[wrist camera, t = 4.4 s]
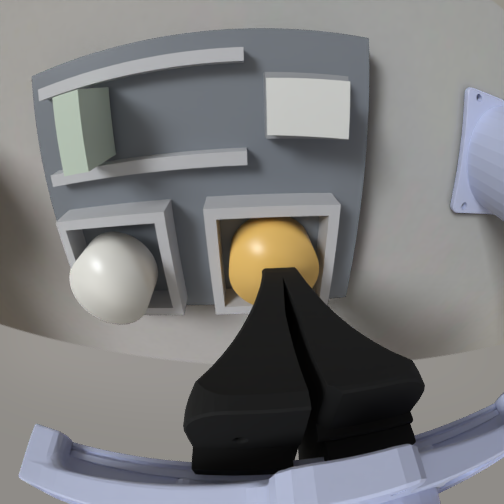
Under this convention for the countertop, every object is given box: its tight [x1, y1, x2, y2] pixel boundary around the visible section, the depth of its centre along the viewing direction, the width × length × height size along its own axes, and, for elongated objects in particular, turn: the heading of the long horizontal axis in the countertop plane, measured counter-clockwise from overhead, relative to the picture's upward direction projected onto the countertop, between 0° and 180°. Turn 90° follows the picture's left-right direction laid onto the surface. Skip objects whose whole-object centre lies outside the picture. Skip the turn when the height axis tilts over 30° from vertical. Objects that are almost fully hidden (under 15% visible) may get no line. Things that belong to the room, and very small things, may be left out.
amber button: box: [229, 217, 319, 305], centre depth 14 cm, size 4×4×2 cm
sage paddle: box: [52, 87, 116, 176], centre depth 10 cm, size 1×3×3 cm, turn 2°
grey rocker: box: [266, 78, 350, 139], centre depth 10 cm, size 3×2×1 cm
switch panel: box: [32, 28, 369, 315], centre depth 13 cm, size 16×14×3 cm
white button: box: [69, 232, 158, 325], centre depth 13 cm, size 4×4×2 cm
